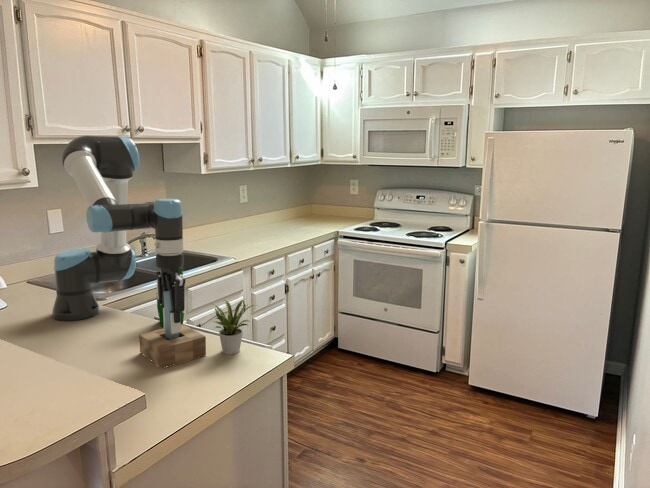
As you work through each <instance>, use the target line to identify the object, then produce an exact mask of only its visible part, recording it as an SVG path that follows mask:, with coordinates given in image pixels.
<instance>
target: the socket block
mask: <svg viewBox="0 0 650 488" xmlns="http://www.w3.org/2000/svg"><path fill="white" fill-rule="evenodd" d="M138 337H139V338H138V340H139V353H140V352H141V353H142V354H144V355H145V356H146V357H148V358H149V359H150V360H152V361H153V362H154V363H155V364H157V365H158V366H159V367H161V368H163V369H165V368H164V367H166V366H169V367H171V366H170V365H173V364H176V365H179V364H182V363H181V362H183V363H185V361H186V362H189V361H192V359H193V360H195V358H196V359H199V358H198V357H200V358H203V357H206V356H207V348H206V347H207V345H206V344H207V343H206V342H207V341H206V340H207V337H206V336H205V335H204V334H202V333H200V332H198V331H197V330H194V329H193V328H192V327H189V326H187V325H186V324H184V323H183V324H181V332H179V338H175V339H172V340H166V339H165V329H164V327H162V328H160V329H156V330H152V331H146V332H143V333H139V334H138ZM141 353H140V354H141ZM142 354H141V355H142ZM205 355H206V356H205ZM145 356H144V357H145ZM202 356H203V357H202ZM146 357H145V358H146ZM149 359H148V360H149ZM150 360H149V361H150ZM188 360H189V361H188ZM153 362H152V363H153ZM154 363H153V364H154ZM178 363H179V364H178ZM155 364H154V365H155ZM157 365H156V366H157ZM158 366H157V367H158ZM173 366H174V365H173ZM159 367H158V368H159ZM161 368H160V369H161ZM166 368H167V367H166Z"/></svg>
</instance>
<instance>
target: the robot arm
mask: <svg viewBox="0 0 650 488" xmlns="http://www.w3.org/2000/svg"><path fill="white" fill-rule="evenodd" d="M61 163H62V164H61V165H62V167H63V168H64V170H65V172H66V173H67V174H68V175H69V176H70V177H72V178H73V180H74V182H75V184H76V186H77V188H78V189H79V191H80V192H81V195H82V197H83V198H84V200H85V203H86V204H87V206H88V208H86V209H87V210H86V213H85V214H86V217H85V218H86V223H87V227H88V229H89V230H90V231H91V232H92V233H100V242H99V243H97V245H96V247H95V248H96V249H95V251H91V250H90V249H89V248H75V249H68V250H66V251H63V252H60V253H58V254H57V255H55V257H54V261H53V262H54V264H53V265H54V267H53V270H54V280H55V290H56V296H55V300H54V303H53V307H52V310H51V312H52V318H53V319H54V320H57V321H64V322H65V321H66V322H71V321H73V322H74V321H80V320H85V319H88V318H92V317H95V316H97V315H98V314H100V305H99V303H98V301H97V298H96V297H95V294H94V292H93V285H96V284H101V283H102V284H103V283H109V282H111V283H112V282H116V281H117V282H118V281H119V282H120V281H123V280H128V279H130V278H131V277H133V275H134V273H135V270H136V266H137V259H136V253H135V251H134V250H133V248H131V245H130V244H129V243H128V242H127V231H137V230H146V229H153V230H154V237H155V243H154V247H155V252H156V255H155V262H156V263H155V264H156V265H155V266H156V267H157V268H158V269H160V270H157V271H156V280H157V279H158V296H159V303H160V304H162V307H163V321H164V327H163V328H164V329H165V317H164V291H167V290H169V291H170V299H171V307H172V311H170V316H171V334H174V333H178V332H181V319H180V312H181V311H184V312H185V310H186V309H185V308H186V307H185V306H186V305H185V304H186V302H185V299H186V297H185V291H186V290H185V285H186V278H184V277H183V278H181V277H180V272H179V268H180V267H182V268H183V266H184V262H185V261H184V259H185V258H184V254H183V252H184V235H183V233H184V232H183V225H184V224H183V216H184V215H183V214H184V212H183V204H182V201H181V200H180V199H177V198H159V199H155V200H154V201H145V202H143V203H128V195H129V194H128V193H129V192H128V190H129V186H128V185H129V181H130V180H131V179H132V178H133V177H134V176H133V174H134V172H137V171H138V170H139V167H140V153H139V151H138V147H137V145H136V143H135V142H134V140H133V139H131V138H130V137H124V136H119V135H117V136H113V135H112V136H111V135H109V136H108V135H104V136H103V135H82V136H81V135H80V136H78V137H75V138H73V139H71V141H69V142H68V143H67V144H66V146H65V147H64V149H63V151H62V153H61ZM173 285H175V286H173Z"/></svg>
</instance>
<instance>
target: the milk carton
mask: <svg viewBox="0 0 650 488" xmlns="http://www.w3.org/2000/svg"><path fill="white" fill-rule="evenodd" d="M179 272H180V277H181V278H184V272H183V266H182V267H180V268H179ZM173 286H175V285H173ZM156 306H157V308H156V309H157V314H158V318H159V321H160V325H161V328H164V321H163V307H162V304H160V303H159V296H158V279H157V278H156ZM184 317H185V310H184V311H181V312H180V319H181V324H184V320H185V319H184Z"/></svg>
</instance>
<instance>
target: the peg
mask: <svg viewBox="0 0 650 488" xmlns="http://www.w3.org/2000/svg"><path fill="white" fill-rule="evenodd" d="M170 311H172V307H171V299H170V291H169V290H167V291H164V317H165V339H166V340H172V339H175V338H179V332H178V333H174V334H171V316H170Z"/></svg>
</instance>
